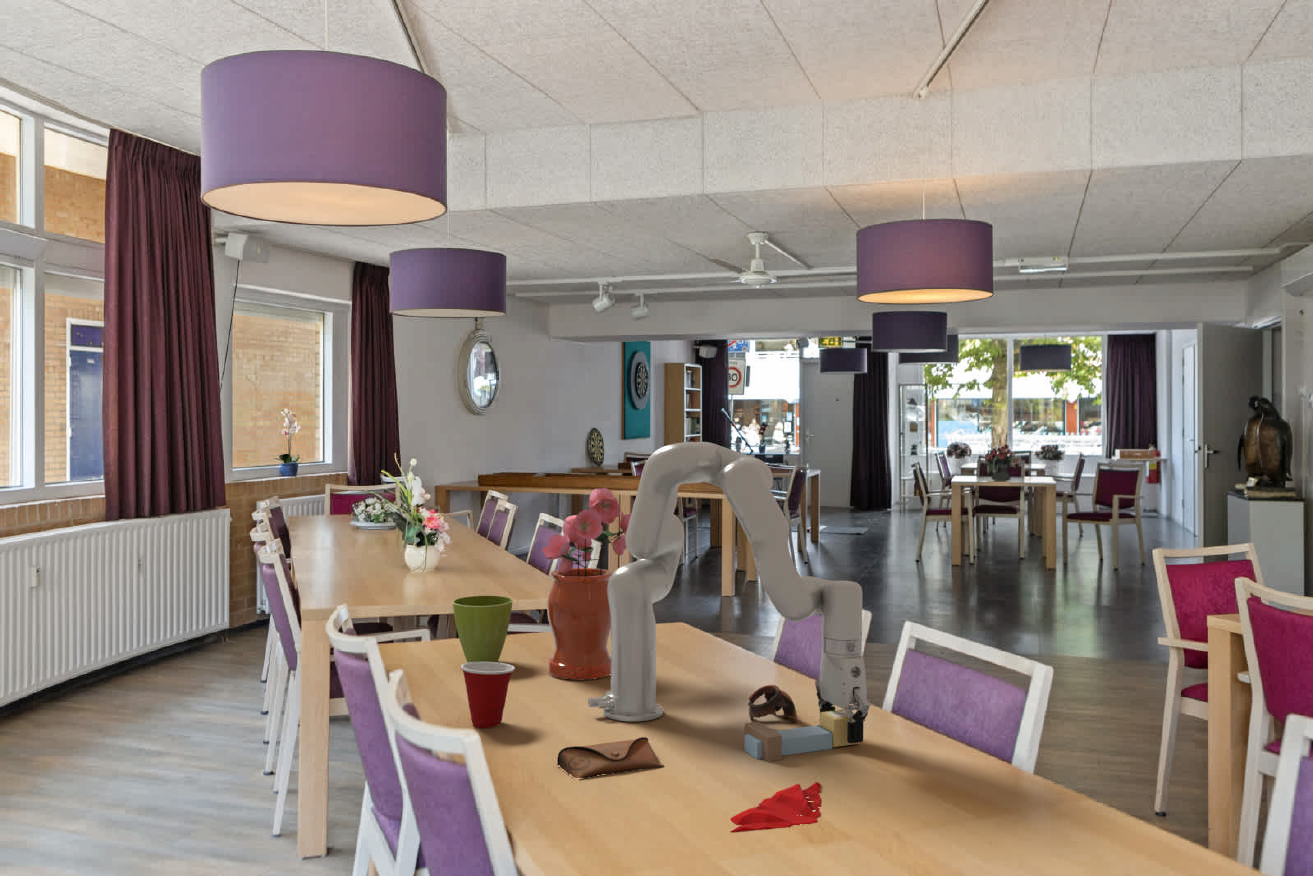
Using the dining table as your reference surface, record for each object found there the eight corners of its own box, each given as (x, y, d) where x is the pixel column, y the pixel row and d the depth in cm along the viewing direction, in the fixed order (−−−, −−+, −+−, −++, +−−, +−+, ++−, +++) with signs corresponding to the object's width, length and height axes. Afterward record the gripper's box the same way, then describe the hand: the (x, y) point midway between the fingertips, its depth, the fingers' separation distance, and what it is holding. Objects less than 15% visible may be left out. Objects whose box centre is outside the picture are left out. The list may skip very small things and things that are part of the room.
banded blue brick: (762, 762, 182) (762, 738, 182) (739, 747, 190) (739, 724, 190) (838, 752, 188) (838, 728, 188) (812, 737, 196) (813, 715, 196)
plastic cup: (525, 723, 204) (525, 664, 204) (482, 735, 196) (482, 674, 196) (492, 712, 211) (492, 655, 211) (449, 723, 203) (449, 664, 203)
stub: (833, 747, 190) (833, 719, 190) (819, 739, 194) (819, 712, 194) (860, 743, 192) (860, 715, 192) (846, 735, 197) (846, 708, 197)
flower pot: (484, 674, 243) (485, 608, 243) (439, 665, 251) (439, 601, 251) (524, 661, 256) (524, 599, 256) (480, 654, 264) (480, 593, 264)
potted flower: (652, 672, 246) (654, 488, 245) (567, 689, 230) (568, 492, 229) (605, 658, 261) (607, 484, 260) (522, 673, 244) (523, 488, 244)
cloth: (753, 850, 146) (753, 834, 146) (692, 820, 157) (692, 805, 157) (870, 808, 162) (870, 794, 162) (808, 783, 173) (808, 770, 173)
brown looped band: (803, 730, 203) (785, 697, 201) (760, 748, 204) (742, 715, 203) (798, 699, 214) (781, 667, 212) (758, 716, 216) (741, 685, 214)
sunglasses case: (574, 781, 171) (567, 742, 174) (561, 790, 177) (554, 752, 180) (668, 766, 179) (660, 729, 182) (653, 775, 185) (645, 739, 188)
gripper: (884, 654, 186) (883, 746, 187) (834, 635, 202) (833, 720, 203) (850, 657, 183) (849, 751, 184) (801, 638, 199) (800, 724, 200)
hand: (840, 734), depth 193 cm, fingers open, 9 cm apart
